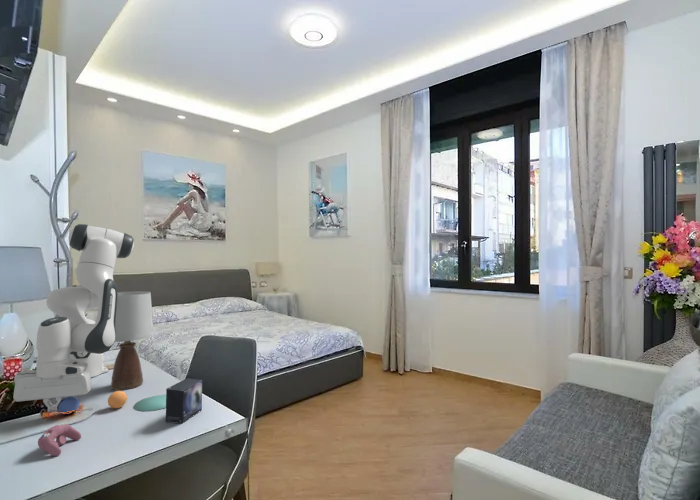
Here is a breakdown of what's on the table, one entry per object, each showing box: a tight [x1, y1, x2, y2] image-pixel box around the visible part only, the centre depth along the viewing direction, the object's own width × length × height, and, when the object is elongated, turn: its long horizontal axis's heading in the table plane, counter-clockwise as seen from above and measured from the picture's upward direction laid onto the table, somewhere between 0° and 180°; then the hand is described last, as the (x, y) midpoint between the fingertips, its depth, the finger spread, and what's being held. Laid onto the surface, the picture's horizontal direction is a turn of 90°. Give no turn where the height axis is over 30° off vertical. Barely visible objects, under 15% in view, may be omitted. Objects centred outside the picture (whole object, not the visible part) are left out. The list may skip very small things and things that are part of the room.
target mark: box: [133, 394, 166, 412], centre depth 131 cm, size 14×14×1 cm
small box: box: [165, 378, 203, 424], centre depth 120 cm, size 11×6×10 cm, turn 168°
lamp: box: [110, 290, 154, 391], centre depth 149 cm, size 19×19×37 cm
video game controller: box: [37, 422, 82, 457], centre depth 101 cm, size 10×5×7 cm, turn 5°
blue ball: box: [58, 396, 80, 413], centre depth 122 cm, size 6×6×6 cm
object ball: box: [107, 390, 128, 409], centre depth 127 cm, size 6×6×6 cm
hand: (53, 410), depth 121 cm, fingers closed
